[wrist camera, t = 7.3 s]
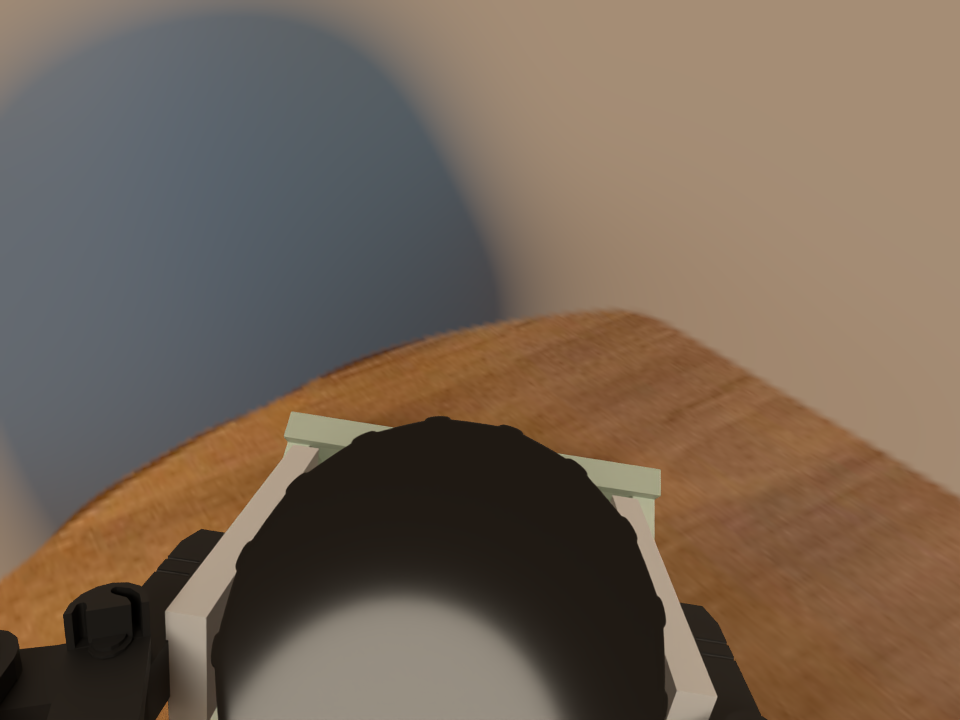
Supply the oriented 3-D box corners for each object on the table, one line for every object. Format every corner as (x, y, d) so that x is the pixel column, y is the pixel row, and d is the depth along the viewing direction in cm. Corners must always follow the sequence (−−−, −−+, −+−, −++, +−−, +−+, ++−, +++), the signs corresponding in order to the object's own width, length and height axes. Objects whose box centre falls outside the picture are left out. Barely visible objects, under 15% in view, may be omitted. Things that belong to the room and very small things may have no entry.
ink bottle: (458, 878, 16) (514, 1350, 6) (236, 681, 18) (-48, 754, 7) (616, 585, 20) (828, 534, 10) (421, 446, 22) (414, 267, 11)
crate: (619, 499, 31) (660, 469, 26) (609, 876, 24) (662, 951, 18) (317, 451, 31) (291, 411, 25) (216, 815, 24) (148, 871, 18)
